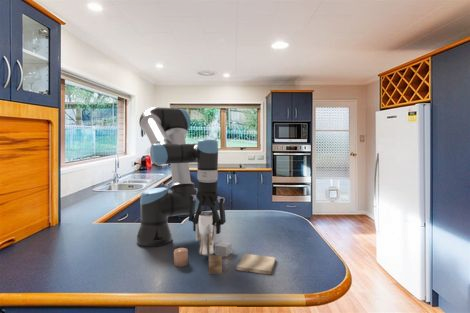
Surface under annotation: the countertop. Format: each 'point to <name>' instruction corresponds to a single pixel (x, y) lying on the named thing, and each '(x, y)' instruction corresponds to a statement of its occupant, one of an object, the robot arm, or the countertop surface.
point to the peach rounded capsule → (180, 257)
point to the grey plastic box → (223, 248)
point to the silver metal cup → (206, 233)
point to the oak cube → (215, 264)
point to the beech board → (256, 264)
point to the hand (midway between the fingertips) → (206, 240)
